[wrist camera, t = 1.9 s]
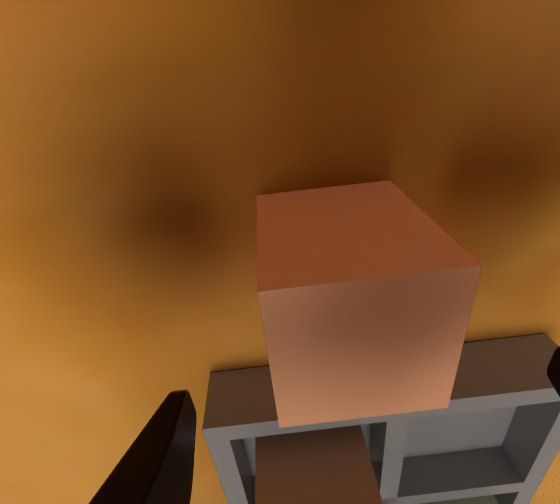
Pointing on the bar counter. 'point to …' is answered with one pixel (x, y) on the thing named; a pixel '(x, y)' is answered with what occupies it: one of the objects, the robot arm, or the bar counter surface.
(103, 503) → the robot arm
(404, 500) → the grid tray
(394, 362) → the terracotta block
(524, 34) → the bar counter surface
